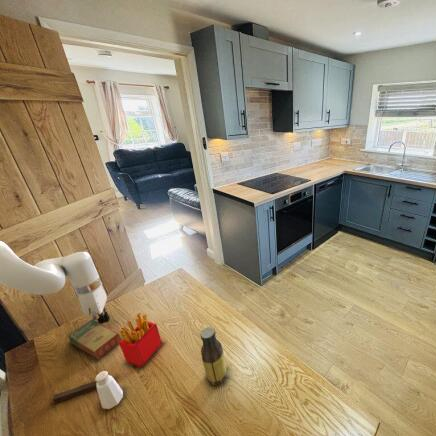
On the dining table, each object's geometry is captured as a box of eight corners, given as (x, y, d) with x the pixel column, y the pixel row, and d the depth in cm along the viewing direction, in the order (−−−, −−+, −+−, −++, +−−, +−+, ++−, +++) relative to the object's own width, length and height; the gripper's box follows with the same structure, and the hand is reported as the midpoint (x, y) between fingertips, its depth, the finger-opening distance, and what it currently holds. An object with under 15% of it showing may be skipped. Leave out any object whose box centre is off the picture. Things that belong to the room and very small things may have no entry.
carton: (97, 360, 80) (93, 352, 79) (70, 343, 86) (65, 334, 84) (122, 340, 87) (118, 332, 86) (95, 325, 93) (91, 317, 91)
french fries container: (125, 362, 80) (113, 332, 74) (147, 339, 88) (138, 311, 82) (142, 368, 78) (131, 338, 72) (163, 344, 86) (154, 315, 81)
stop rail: (54, 403, 68) (52, 399, 68) (57, 398, 70) (54, 394, 69) (112, 383, 74) (111, 380, 73) (113, 379, 75) (112, 375, 74)
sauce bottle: (227, 364, 80) (221, 321, 72) (226, 383, 74) (219, 339, 66) (207, 368, 78) (198, 324, 70) (205, 388, 73) (195, 343, 65)
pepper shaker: (107, 414, 66) (94, 389, 62) (97, 403, 69) (84, 379, 64) (127, 395, 71) (117, 371, 66) (117, 386, 73) (107, 362, 68)
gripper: (81, 275, 90) (98, 310, 98) (67, 301, 78) (87, 340, 85) (105, 270, 93) (119, 305, 100) (94, 295, 80) (112, 332, 88)
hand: (104, 321), depth 93 cm, fingers closed
